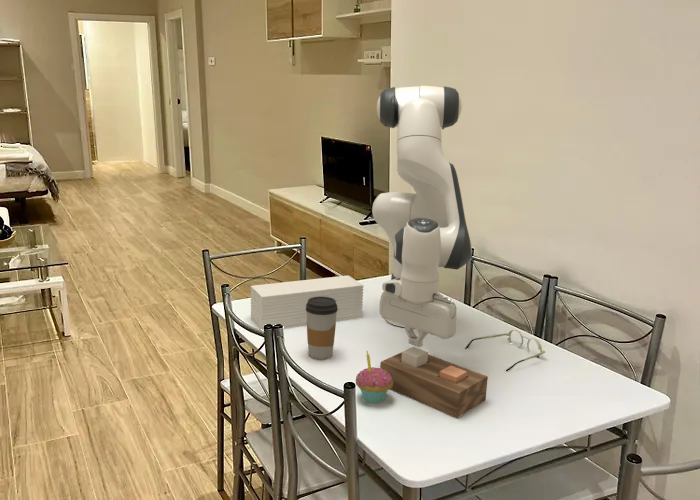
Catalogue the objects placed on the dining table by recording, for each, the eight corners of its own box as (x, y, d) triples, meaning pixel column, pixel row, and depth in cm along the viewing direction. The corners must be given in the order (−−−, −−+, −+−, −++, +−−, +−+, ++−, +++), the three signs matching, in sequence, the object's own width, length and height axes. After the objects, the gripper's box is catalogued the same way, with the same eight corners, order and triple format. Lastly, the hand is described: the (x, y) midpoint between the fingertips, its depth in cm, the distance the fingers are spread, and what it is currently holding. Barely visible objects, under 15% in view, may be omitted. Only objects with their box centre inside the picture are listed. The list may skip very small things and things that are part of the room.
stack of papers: (347, 307, 208) (348, 275, 206) (361, 318, 199) (363, 285, 196) (250, 319, 195) (250, 285, 192) (261, 332, 186) (261, 296, 183)
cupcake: (361, 409, 144) (363, 359, 141) (350, 391, 152) (352, 344, 149) (397, 405, 146) (400, 355, 143) (385, 388, 154) (387, 341, 151)
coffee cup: (332, 363, 167) (333, 308, 163) (300, 359, 168) (301, 304, 164) (339, 350, 174) (341, 297, 171) (309, 346, 176) (310, 294, 172)
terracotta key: (449, 381, 151) (450, 365, 150) (465, 387, 149) (466, 371, 148) (438, 387, 148) (439, 371, 147) (454, 393, 145) (456, 377, 144)
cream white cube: (412, 361, 158) (413, 346, 157) (426, 367, 155) (427, 352, 154) (401, 367, 155) (401, 351, 154) (415, 373, 152) (416, 357, 151)
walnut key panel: (409, 369, 164) (411, 347, 163) (485, 400, 150) (487, 376, 148) (379, 384, 156) (380, 361, 154) (456, 418, 141) (458, 393, 140)
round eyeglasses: (548, 363, 172) (550, 345, 171) (505, 374, 165) (507, 356, 164) (503, 340, 186) (505, 324, 185) (462, 349, 179) (464, 332, 178)
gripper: (464, 297, 146) (459, 354, 149) (393, 277, 159) (390, 329, 162) (448, 303, 141) (444, 362, 145) (376, 282, 154) (374, 336, 158)
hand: (415, 344), depth 154 cm, fingers closed
